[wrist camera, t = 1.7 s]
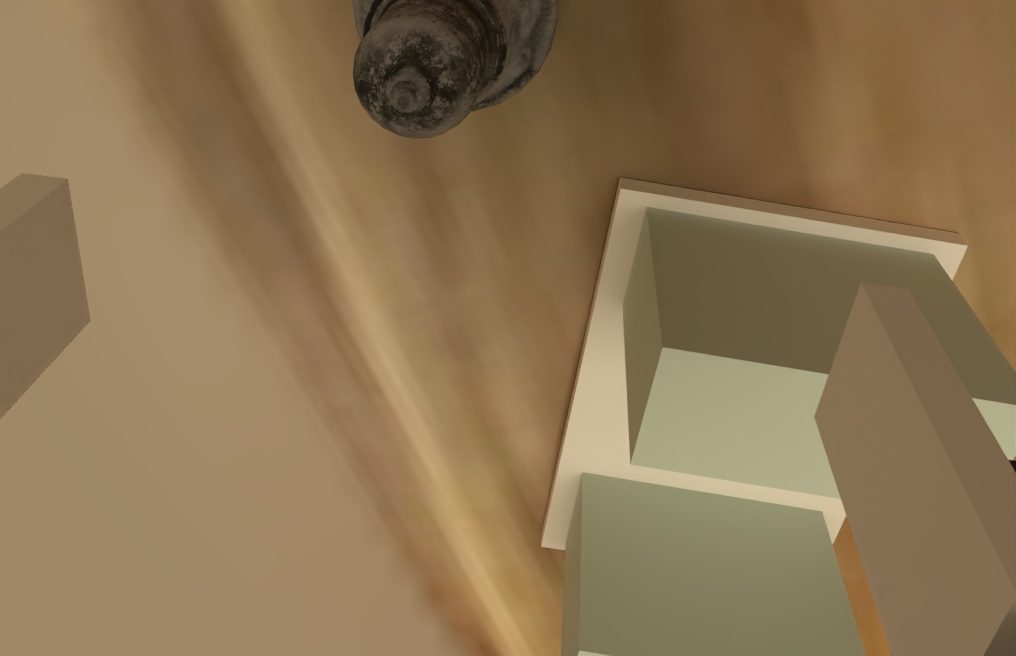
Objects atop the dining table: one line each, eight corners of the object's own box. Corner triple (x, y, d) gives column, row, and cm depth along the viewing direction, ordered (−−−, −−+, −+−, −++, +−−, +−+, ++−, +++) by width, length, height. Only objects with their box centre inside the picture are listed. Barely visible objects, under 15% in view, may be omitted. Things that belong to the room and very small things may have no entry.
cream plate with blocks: (620, 177, 32) (628, 324, 24) (958, 233, 32) (1088, 400, 24) (542, 530, 41) (528, 729, 33) (807, 573, 41) (862, 783, 33)
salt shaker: (551, 87, 31) (529, 245, 21) (377, 68, 31) (269, 217, 21) (571, -106, 28) (557, -33, 18) (378, -125, 28) (252, -63, 18)
